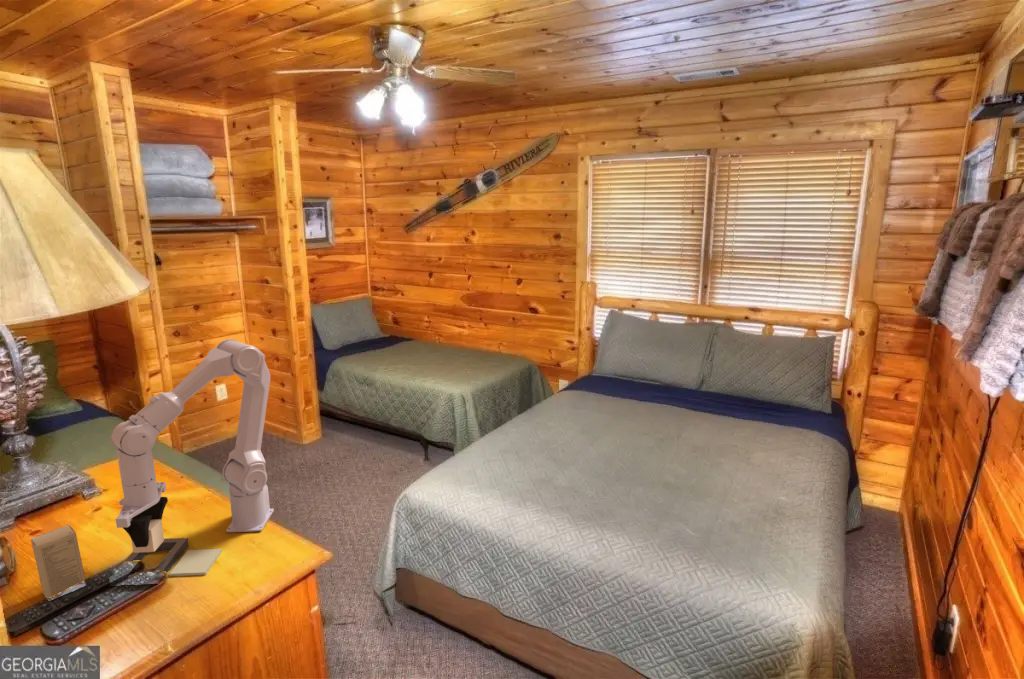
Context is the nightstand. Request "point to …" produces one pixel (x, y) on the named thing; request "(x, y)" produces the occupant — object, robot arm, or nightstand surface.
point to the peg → (152, 537)
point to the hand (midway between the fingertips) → (148, 539)
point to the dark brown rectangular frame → (175, 551)
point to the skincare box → (58, 560)
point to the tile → (196, 562)
